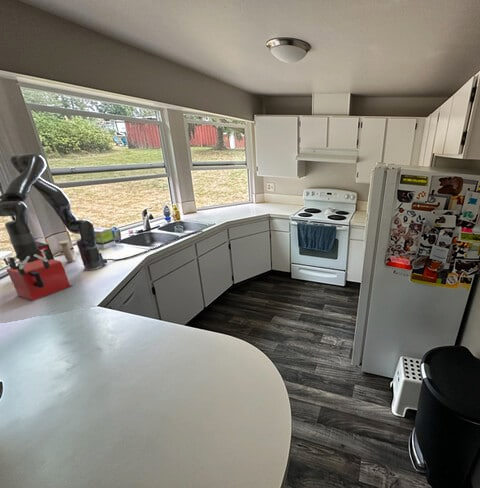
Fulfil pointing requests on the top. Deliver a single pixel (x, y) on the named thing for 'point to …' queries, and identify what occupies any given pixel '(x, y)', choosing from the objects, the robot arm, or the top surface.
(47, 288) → the red cabinet door
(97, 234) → the tea box
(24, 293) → the cabinet
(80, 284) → the top surface
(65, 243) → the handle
